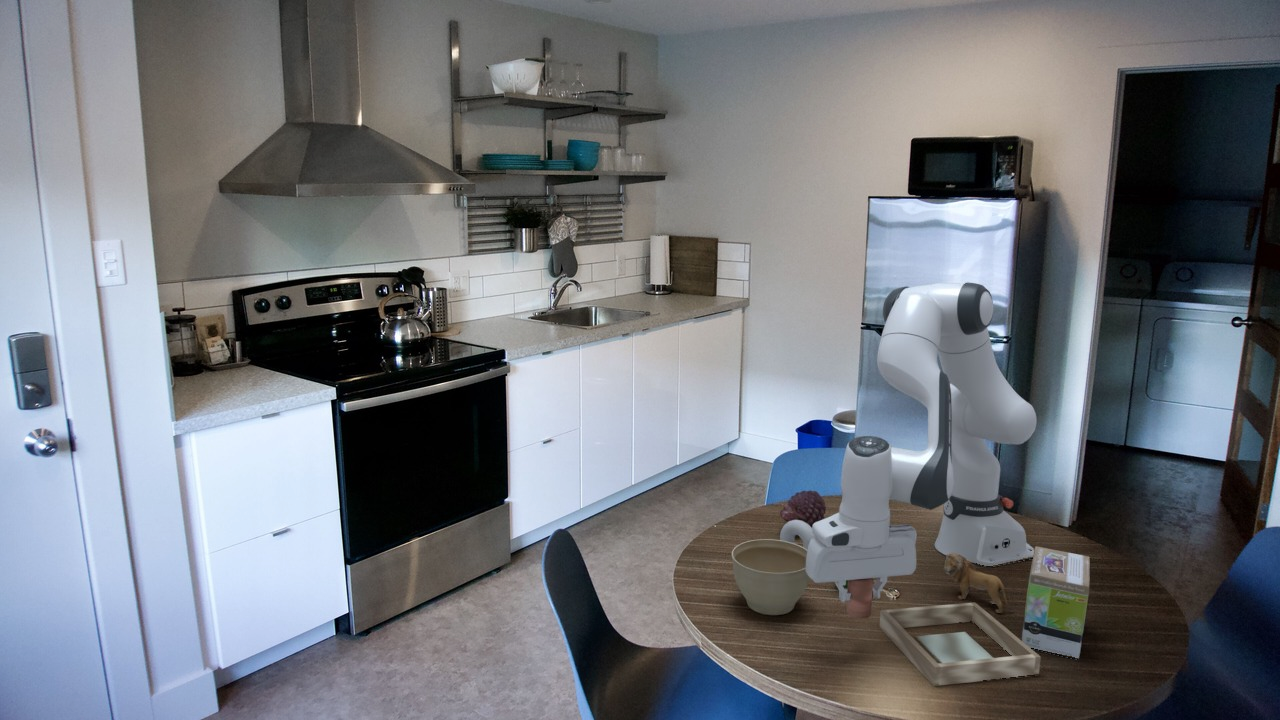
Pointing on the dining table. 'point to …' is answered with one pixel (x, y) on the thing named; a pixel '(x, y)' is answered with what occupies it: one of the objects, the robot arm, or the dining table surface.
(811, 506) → the pine cone
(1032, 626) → the tea box
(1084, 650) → the dining table surface
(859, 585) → the reddish pink cylinder
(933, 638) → the corral
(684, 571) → the dining table surface
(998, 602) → the lion figurine
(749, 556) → the planter bowl
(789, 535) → the donut
